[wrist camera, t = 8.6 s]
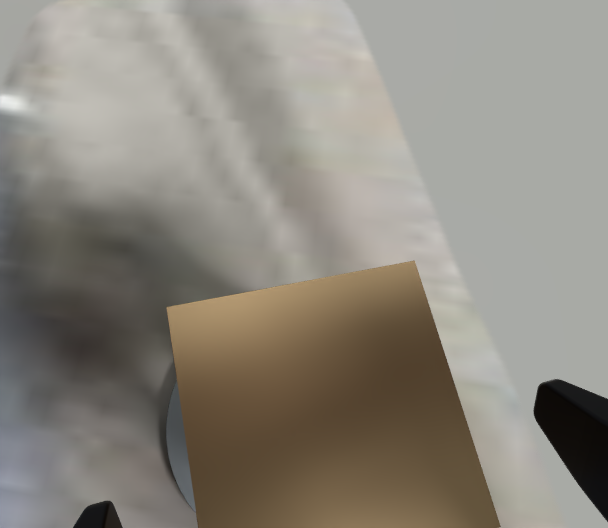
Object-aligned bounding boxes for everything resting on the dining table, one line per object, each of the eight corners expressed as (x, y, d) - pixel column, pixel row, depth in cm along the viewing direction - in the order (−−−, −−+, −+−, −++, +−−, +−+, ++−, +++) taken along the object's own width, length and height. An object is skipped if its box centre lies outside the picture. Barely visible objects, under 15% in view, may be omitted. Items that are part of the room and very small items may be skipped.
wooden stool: (368, 475, 19) (500, 526, 9) (227, 514, 18) (211, 621, 8) (333, 337, 21) (414, 260, 11) (202, 365, 20) (166, 306, 10)
